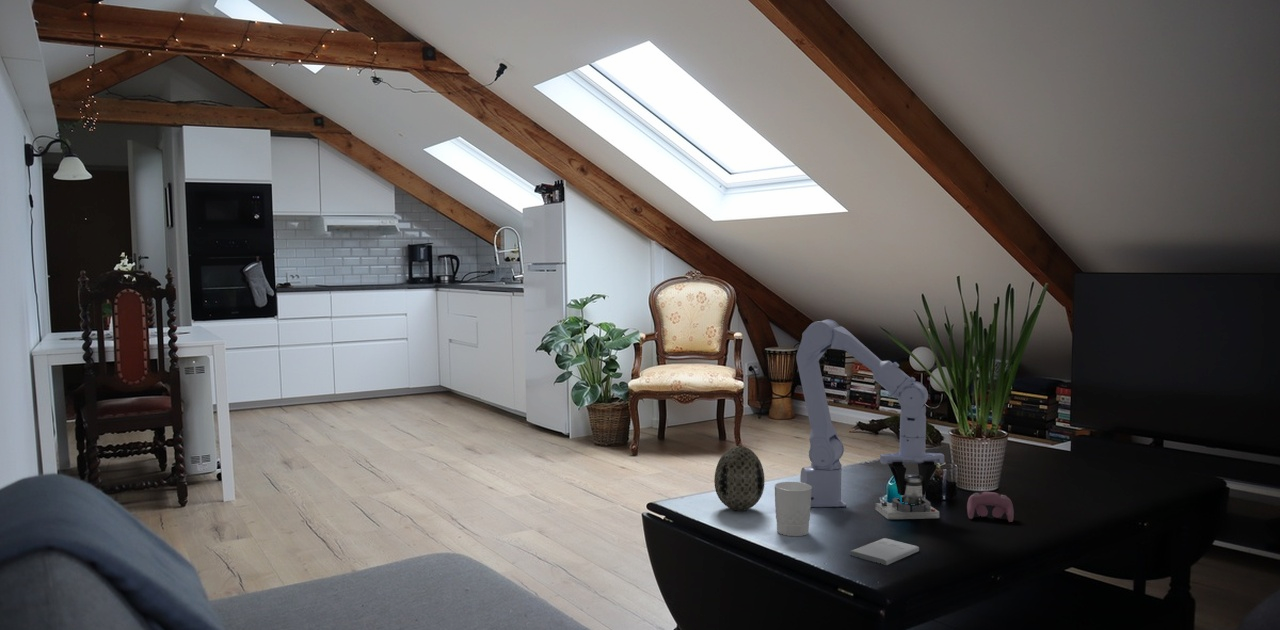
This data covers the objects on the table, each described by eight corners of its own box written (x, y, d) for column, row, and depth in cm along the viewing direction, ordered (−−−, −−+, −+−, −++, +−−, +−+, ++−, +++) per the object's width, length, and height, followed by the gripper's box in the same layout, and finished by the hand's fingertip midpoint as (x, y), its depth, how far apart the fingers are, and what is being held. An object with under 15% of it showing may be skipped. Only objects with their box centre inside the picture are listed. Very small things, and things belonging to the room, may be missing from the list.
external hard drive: (849, 558, 177) (883, 544, 186) (886, 568, 171) (919, 553, 180) (849, 550, 177) (883, 536, 185) (886, 560, 171) (919, 545, 180)
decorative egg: (703, 509, 209) (704, 446, 208) (734, 500, 217) (734, 439, 216) (744, 519, 201) (745, 454, 200) (774, 509, 209) (774, 446, 208)
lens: (904, 504, 203) (905, 478, 203) (899, 498, 208) (899, 473, 208) (924, 504, 203) (925, 478, 203) (918, 499, 208) (919, 473, 208)
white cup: (802, 539, 186) (803, 492, 186) (768, 533, 191) (768, 487, 190) (816, 530, 193) (817, 484, 193) (782, 524, 197) (783, 480, 197)
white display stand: (887, 519, 202) (888, 506, 201) (875, 509, 209) (875, 497, 209) (939, 518, 203) (939, 505, 202) (924, 508, 211) (925, 496, 210)
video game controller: (1012, 526, 202) (1012, 495, 205) (1014, 522, 198) (1014, 491, 201) (966, 522, 205) (966, 491, 208) (967, 518, 201) (967, 487, 204)
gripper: (888, 439, 200) (887, 499, 201) (950, 438, 202) (949, 497, 203) (877, 433, 207) (876, 491, 208) (937, 432, 209) (936, 490, 210)
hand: (911, 494), depth 206 cm, fingers closed on lens, 4 cm apart
